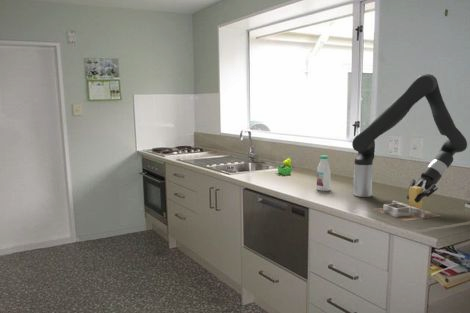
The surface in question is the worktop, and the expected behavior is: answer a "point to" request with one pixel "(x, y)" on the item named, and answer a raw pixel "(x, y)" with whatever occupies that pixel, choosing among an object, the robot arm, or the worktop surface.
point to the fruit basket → (285, 167)
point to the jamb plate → (404, 211)
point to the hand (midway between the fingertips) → (412, 200)
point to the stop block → (412, 195)
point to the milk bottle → (323, 174)
